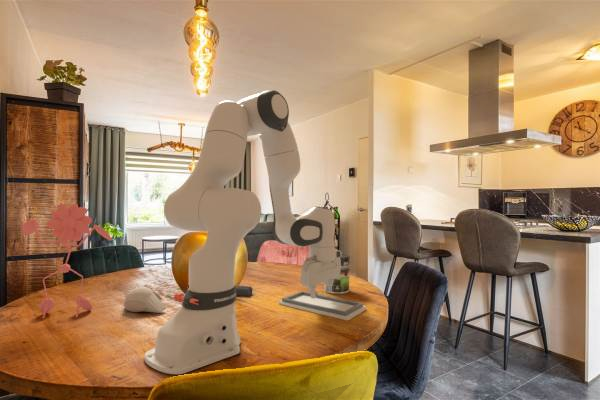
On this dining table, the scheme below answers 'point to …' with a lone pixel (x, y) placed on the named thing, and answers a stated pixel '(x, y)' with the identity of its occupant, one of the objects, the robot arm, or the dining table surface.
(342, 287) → the coffee can
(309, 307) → the baseplate tray
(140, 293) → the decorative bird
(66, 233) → the figurine
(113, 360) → the dining table surface
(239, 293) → the can opener
